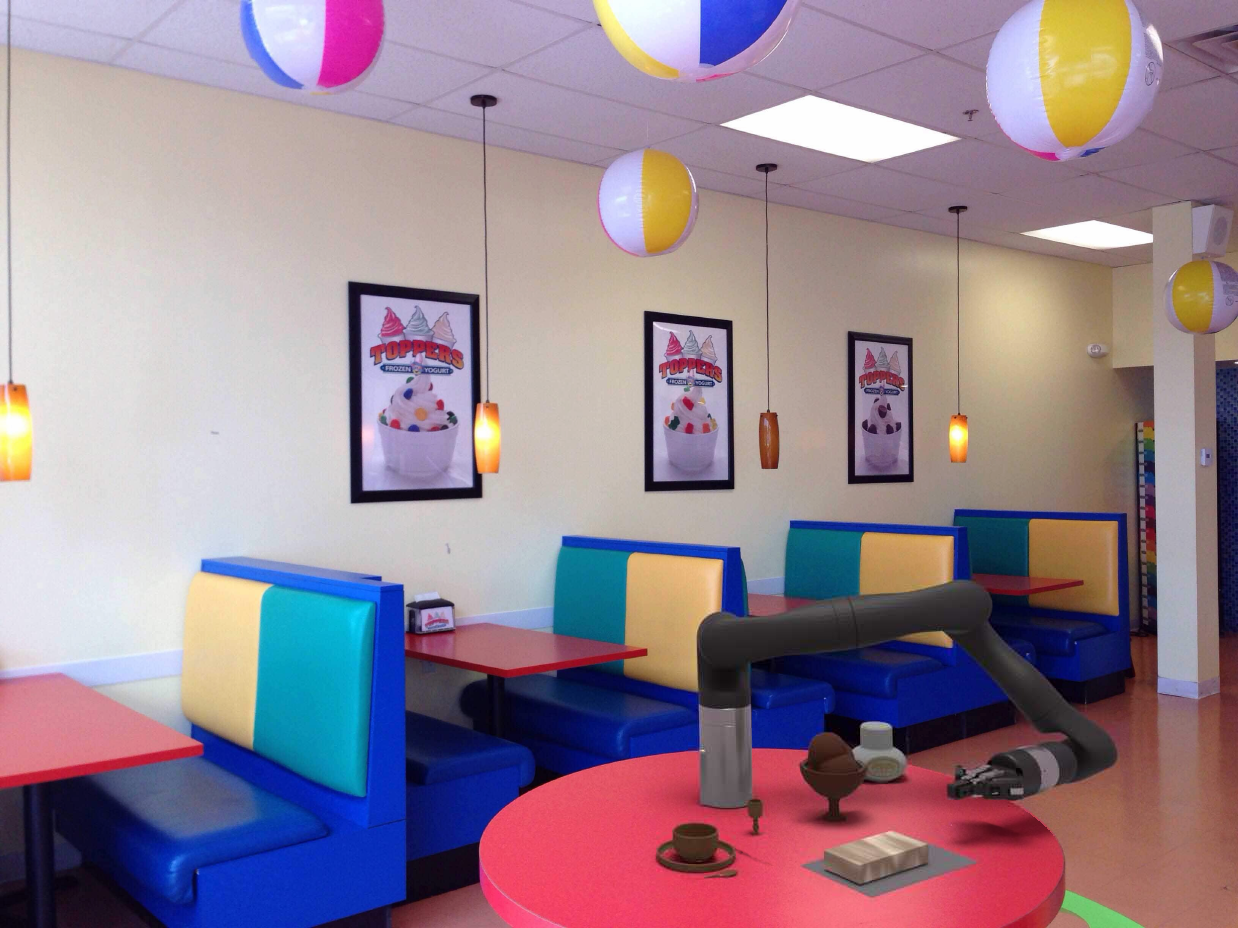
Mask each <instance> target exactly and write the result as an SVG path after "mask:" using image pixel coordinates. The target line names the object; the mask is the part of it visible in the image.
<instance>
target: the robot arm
mask: <svg viewBox="0 0 1238 928" xmlns="http://www.w3.org/2000/svg"><path fill="white" fill-rule="evenodd" d="M992 612H993V600H992V598H991V595H990V594H989V592H988V591H987V589H985V588H984V587H983V586H982V585H980V584H979V583H977V582H975V581H972V580H969V579H955V580H951V581H949V582H945V583H941V584H937V585H933V586H929V587H925V588H920V589H916V590H910V591H904V592H887V593H886V592H884V593H883V592H882V593H868V594H859V595H858V594H856V595H849V596H840V597H834V598H833V597H832V598H826V599H821V600H817V601H814V602H809V603H806V604H803V605H801V606H798V607H795V608H791V609H789V610H787V611H783V612H780V613H776V614H769V615H760V616H759V615H758V616H743V617H742V616H737V615H736V614H734V613H732V612H729V611H722V610H721V611H716V612H715V611H714V612H712V613H710V614H708V615H707V616H706V617H704V619H702V620H701V622H700V624H698V628H697V632H696V666H697V669H696V671H697V672H696V673H697V690H698V721H699V723H698V724H699V725H698V726H699V750H698V765H699V767H698V768H699V770H698V771H699V773H698V774H699V777H698V778H699V804H700V805H701V806H702V805H703V806H709V807H712V808H713V807H714V808H719V809H720V808H721V809H735V808H742V807H745V806H748V800H749V799H753V798H754V795H753V793H754V788H753V787H754V786H753V783H754V782H753V747H752V745H753V740H752V707H751V706H752V703H751V702H752V701H751V698H752V697H751V692H752V691H751V684H750V673H749V664H752V663H755V662H759V661H763V660H764V661H765V660H767V659H771V658H772V659H773V658H778V657H783V656H784V657H785V656H799V655H809V654H810V655H812V654H813V655H814V654H822V653H831V652H833V653H834V652H840V651H841V652H842V651H848V650H854V649H860V648H866V647H871V646H874V645H879V644H882V643H883V644H884V643H885V642H889V641H893V640H895V639H900V638H902V637H905V636H906V637H907V636H910V635H914V634H919V633H920V634H922V633H932V632H943V633H944V634H945V635H946V636H947V637H949V639H951V641H953V642H954V643H956V644H957V645H958V646H959V647H960V648H961V649H962V650H964V651H965V652H966V653H967V654H968V655H969V656H970V658H972V659H973V660H974V661H975V662H976V663H977V664H978V665H979V666H980V667H981V668H982V669H983V670H984V671H985V673H986V674H988V675H989V677H990V678H992V680H993V681H994V682H995V683H996V685H998V687H999V688H1000V689H1001V690H1002V691H1003V692H1004V694H1005V695H1006V696H1007V697H1008V699H1010V701H1011V702H1012V703H1013V705H1015V707H1016V708H1017V709H1018V710H1019V711H1020V712H1021V714H1022V715H1023V716H1024V717H1025V718H1026V720H1027V721H1028V722H1029V723H1030V724H1031V726H1032V727H1033V728H1034V729H1035V730H1036V731H1037V732H1038V733H1040V734H1044V735H1047V734H1053V733H1059V734H1062V735H1064V736H1065V737H1066V738H1064V739H1063V740H1060V741H1053V740H1051V741H1045V742H1041V743H1037V744H1034V745H1024V746H1019V747H1015V748H1012V749H1008V750H1004V751H1000V752H997V753H994V754H993V755H992V756H991V757H989V759H988V760H987V762H986V764H983V765H980V766H976V767H974V768H973V769H972V770H967V768H966V767H964V765H961V764H956V765H955V767H954V781H952V782H950V783H949V782H948V784H946V797H947V798H948V799H951V800H955V801H958V800H963V799H965V798H969V797H971V798H974V799H975V798H981V797H982V798H983V800H986V801H987V800H1005V801H1008V802H1015V801H1018V800H1023V799H1025V798H1029V797H1031V796H1034V795H1038V794H1041V793H1044V792H1046V791H1047V790H1049V789H1052V788H1055V787H1058V786H1061V785H1066V784H1068V785H1069V784H1074V783H1077V782H1080V781H1083V780H1086V779H1088V778H1091V777H1092V776H1096V775H1097V774H1099V773H1102V772H1104V771H1106V770H1108V769H1111V768H1112V767H1113V766H1115V764H1116V763H1117V760H1118V757H1119V755H1118V754H1119V753H1118V748H1117V746H1116V743H1115V742H1114V740H1113V738H1112V737H1111V736H1110V734H1109V733H1108V732H1107V731H1106V730H1104V729H1103V728H1102V726H1100V725H1098V724H1097V723H1096V722H1094V721H1093V720H1091V719H1090V718H1088V717H1087V716H1085V715H1084V714H1083V713H1082V712H1080V711H1079V710H1077V709H1076V708H1075V707H1073V706H1072V705H1070V704H1069V703H1068V702H1067V701H1066V699H1064V698H1063V696H1062V695H1061V694H1060V692H1059V691H1057V689H1056V688H1055V687H1054V686H1053V684H1051V682H1050V681H1049V680H1048V679H1047V677H1045V676H1044V675H1043V674H1042V673H1041V672H1040V671H1039V670H1038V669H1037V668H1035V666H1033V665H1032V664H1031V663H1030V662H1029V661H1027V660H1026V659H1025V658H1024V657H1022V656H1021V655H1020V654H1019V653H1018V652H1016V651H1015V650H1014V649H1012V647H1011V646H1009V645H1008V643H1006V642H1005V641H1004V640H1003V639H1002V637H1000V636H999V634H998V633H997V631H996V630H994V628H993V627H992V625H991V623H989V621H988V619H989V618H990V616H991V614H992Z"/></svg>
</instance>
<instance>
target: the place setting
mask: <svg viewBox="0 0 1238 928" xmlns="http://www.w3.org/2000/svg"><path fill="white" fill-rule="evenodd" d="M763 812H764V801H763V799H761V798H757V797H755V798H754V797H753V799H749V800H748V805H747V813H748V817H750V818H751V819H752V821H753V822H752V823H753V824H752V830H753V832H752V835H753V836H759V835H760V833H759V830H760V825H759V819H760V818H761V817H762V816H763V814H764V813H763ZM672 848H674V849H673V850H674V851H675V853H676V854H677V855H679V856H680V857H682V859H683V860H684V861H685V860H686V862H688V861H690V862H689V863H690V864H689V863H681V862H677V861H673V860H670V859H667V858H665V857H664V856H663V857H662V856H661V855H662V854H663V853H664V852H665V851H666V850H669V849H672ZM718 848H719V849H722V850H724V851H725V852H727V853H728V854H729V855H730V857H729V856H728V857H727V858H726V859H722V860H719V861H717V862H711V863H704V864H703V863H702V862H701V861H704V862H707V861H708V860H709V859H710V857H712V856H714V854H716V853H717V851H718ZM725 852H724V853H725ZM656 856H657V859H658V861H659V862H660V863H661V864H662V865H663V866H664V865H665V867H666V868H668V867H669V868H668V869H671V870H674V869H675V870H674V871H678V870H679V871H678V872H683V871H687V872H686V873H703V872H702V871H710V872H714V871H713V870H716V871H718V870H717V869H719V870H722V869H724V867H725V868H727V867H728V865H729V866H730V865H731V864H732V863H733V862H734V860H735V859H736V858H735V857H736V849H735V847H734V846H733V845H732V844H731V843H729V842H726V841H725V840H722V839H719V829H718V827H717V826H714V825H713V824H710V823H707V822H706V823H705V822H698V821H697V822H686V823H680V824H678V825H676V826H674V827H673V829H672V839H670V840H667V841H665V842H663V843H661V844H660V845H658V846H657V848H656ZM706 860H707V861H706ZM698 861H700V862H698ZM694 862H698V863H699V864H697V863H695V864H692V863H694ZM700 863H702V864H700ZM721 868H722V869H721ZM737 873H738V870H737V869H727V870H726V869H725V870H722V871H719V872H716V873H714V874H709V875H705V876H703V877H705V879H708V877H710V878H716V877H715V876H718V877H717V878H721V877H724V878H730V876H731V877H733V876H736V874H737ZM719 874H723V875H722V876H720V875H719Z"/></svg>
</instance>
